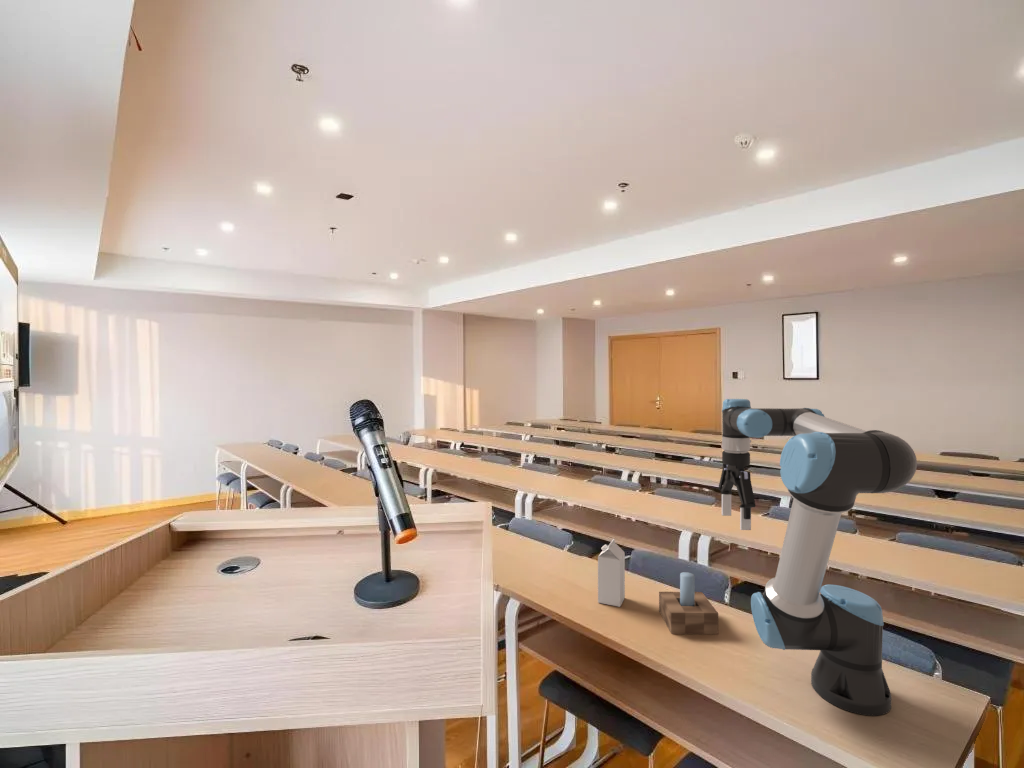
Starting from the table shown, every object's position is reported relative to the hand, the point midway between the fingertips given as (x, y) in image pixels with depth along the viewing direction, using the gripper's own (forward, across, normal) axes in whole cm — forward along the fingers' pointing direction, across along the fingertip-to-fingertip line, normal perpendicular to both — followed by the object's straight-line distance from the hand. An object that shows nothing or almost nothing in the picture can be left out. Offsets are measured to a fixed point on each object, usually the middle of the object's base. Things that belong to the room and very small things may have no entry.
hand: (735, 522), depth 146 cm
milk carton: (+29, +10, +35) cm, 46 cm away
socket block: (+29, -3, +15) cm, 33 cm away
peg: (+29, -3, +15) cm, 33 cm away
